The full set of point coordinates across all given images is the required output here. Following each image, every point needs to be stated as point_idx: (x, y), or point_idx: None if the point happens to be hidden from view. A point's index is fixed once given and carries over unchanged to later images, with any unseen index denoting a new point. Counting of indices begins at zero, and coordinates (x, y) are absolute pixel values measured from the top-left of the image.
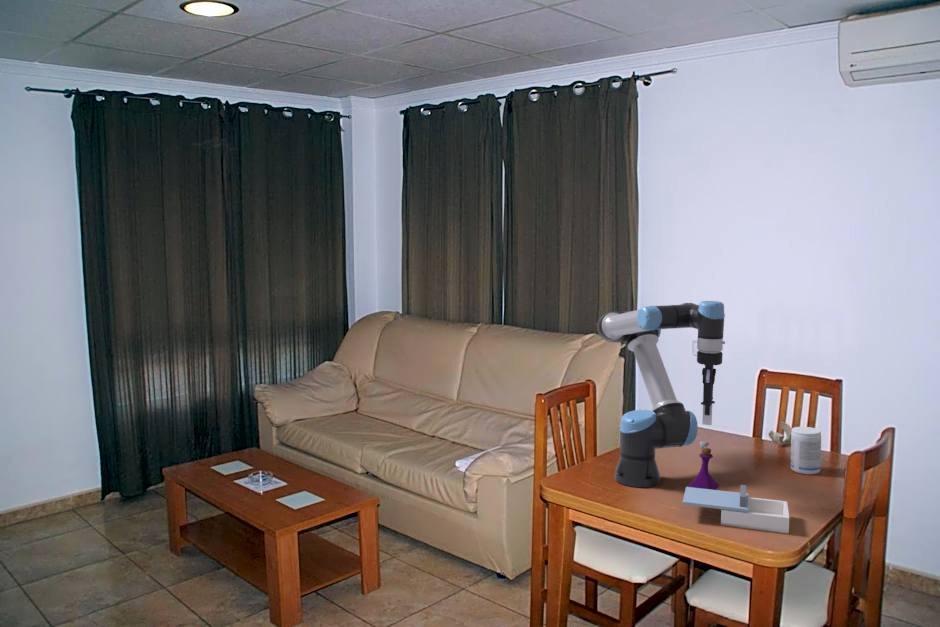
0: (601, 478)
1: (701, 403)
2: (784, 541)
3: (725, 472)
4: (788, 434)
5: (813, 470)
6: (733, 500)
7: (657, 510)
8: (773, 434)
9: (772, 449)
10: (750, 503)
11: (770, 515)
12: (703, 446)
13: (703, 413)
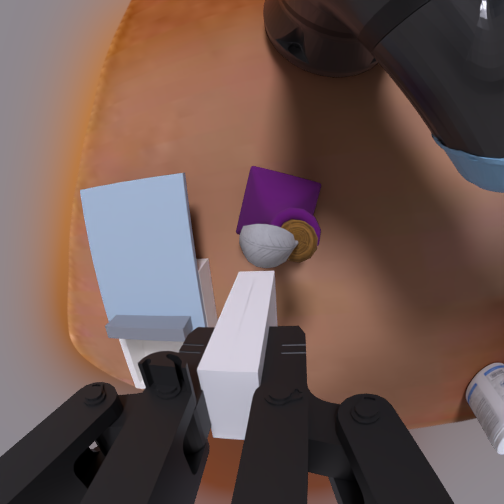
0: None
1: (142, 366)
2: (114, 360)
3: (468, 243)
4: None
5: (467, 401)
6: (142, 302)
7: (131, 119)
8: None
9: None
10: None
11: (128, 362)
12: (241, 242)
13: (222, 319)
